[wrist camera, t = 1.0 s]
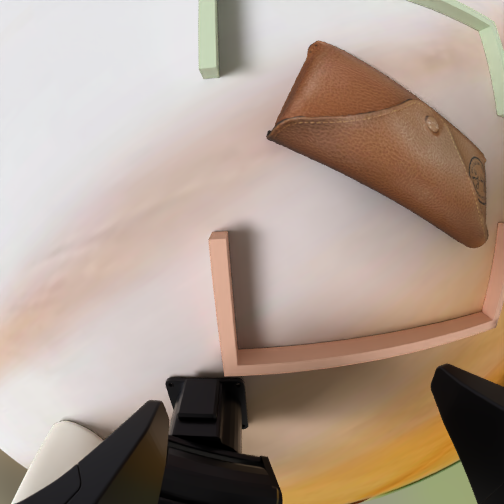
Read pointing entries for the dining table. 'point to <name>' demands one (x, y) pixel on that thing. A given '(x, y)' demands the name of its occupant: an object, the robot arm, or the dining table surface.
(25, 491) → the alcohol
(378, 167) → the sunglasses case
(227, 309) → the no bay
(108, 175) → the dining table surface
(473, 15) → the mint green arch
